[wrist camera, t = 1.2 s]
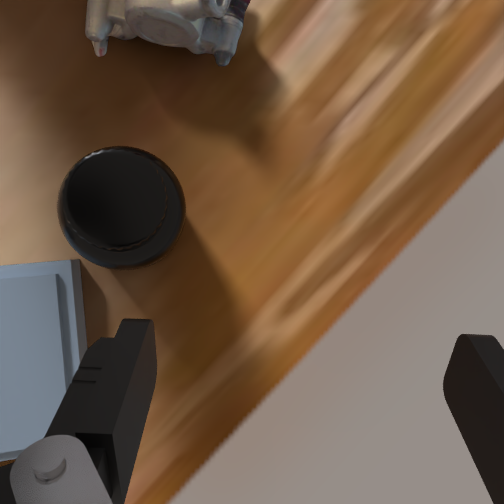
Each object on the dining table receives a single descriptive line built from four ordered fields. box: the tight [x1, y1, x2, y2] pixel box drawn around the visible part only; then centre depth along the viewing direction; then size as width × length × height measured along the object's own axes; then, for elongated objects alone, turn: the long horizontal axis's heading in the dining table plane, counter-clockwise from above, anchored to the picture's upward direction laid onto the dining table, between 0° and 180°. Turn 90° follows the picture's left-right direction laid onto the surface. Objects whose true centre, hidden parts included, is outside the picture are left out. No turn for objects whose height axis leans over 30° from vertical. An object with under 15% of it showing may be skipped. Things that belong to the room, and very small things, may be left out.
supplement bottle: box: [57, 146, 186, 270], centre depth 27 cm, size 7×7×12 cm
